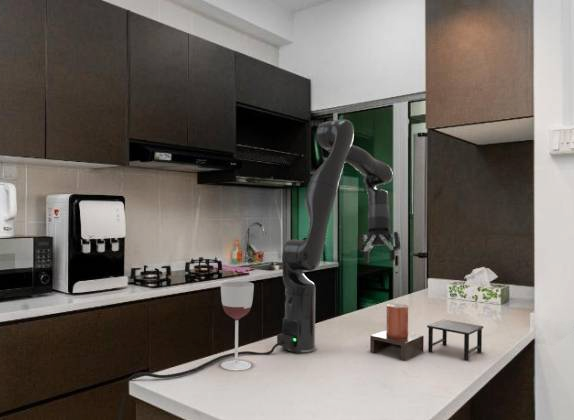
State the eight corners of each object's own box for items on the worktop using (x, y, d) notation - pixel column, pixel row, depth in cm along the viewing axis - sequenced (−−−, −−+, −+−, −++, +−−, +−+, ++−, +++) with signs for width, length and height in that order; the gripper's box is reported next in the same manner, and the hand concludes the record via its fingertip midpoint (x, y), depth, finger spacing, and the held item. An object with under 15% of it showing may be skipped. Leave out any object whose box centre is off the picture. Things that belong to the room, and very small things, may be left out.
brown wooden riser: (404, 360, 134) (405, 343, 134) (370, 352, 142) (370, 335, 142) (423, 352, 143) (423, 335, 143) (389, 344, 151) (389, 328, 151)
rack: (468, 361, 135) (468, 333, 135) (426, 351, 143) (427, 325, 143) (483, 352, 143) (483, 326, 143) (442, 344, 152) (443, 319, 152)
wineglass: (257, 362, 131) (259, 283, 131) (243, 373, 122) (244, 288, 122) (229, 357, 135) (230, 280, 135) (213, 368, 126) (214, 285, 126)
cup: (402, 339, 138) (402, 308, 138) (382, 335, 143) (382, 305, 142) (411, 335, 142) (412, 305, 142) (392, 331, 147) (392, 302, 147)
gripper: (356, 217, 173) (356, 261, 169) (395, 213, 166) (397, 259, 162) (362, 222, 180) (363, 264, 175) (401, 218, 172) (402, 263, 168)
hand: (379, 262), depth 168 cm, fingers open, 8 cm apart
